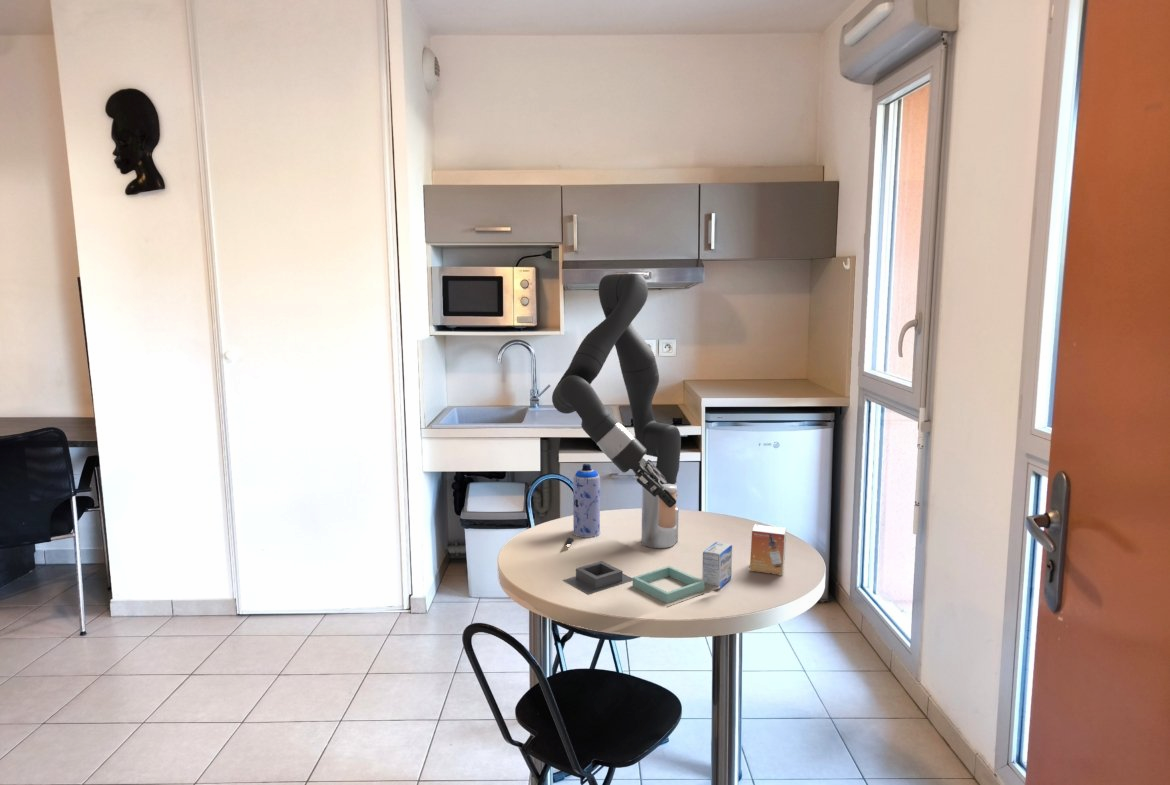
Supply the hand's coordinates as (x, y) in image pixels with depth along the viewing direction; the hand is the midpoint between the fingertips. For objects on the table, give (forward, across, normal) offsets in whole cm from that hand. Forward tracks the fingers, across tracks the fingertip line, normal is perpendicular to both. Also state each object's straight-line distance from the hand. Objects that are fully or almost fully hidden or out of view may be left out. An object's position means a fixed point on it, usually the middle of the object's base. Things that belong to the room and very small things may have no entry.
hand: (673, 501), depth 163 cm
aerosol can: (-3, +36, +34) cm, 50 cm away
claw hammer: (-4, +19, +36) cm, 41 cm away
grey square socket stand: (+3, +2, +27) cm, 28 cm away
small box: (+32, +18, -1) cm, 36 cm away
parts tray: (+15, 0, +16) cm, 22 cm away
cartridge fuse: (+4, 0, +6) cm, 7 cm away
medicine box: (+23, +7, +8) cm, 25 cm away
